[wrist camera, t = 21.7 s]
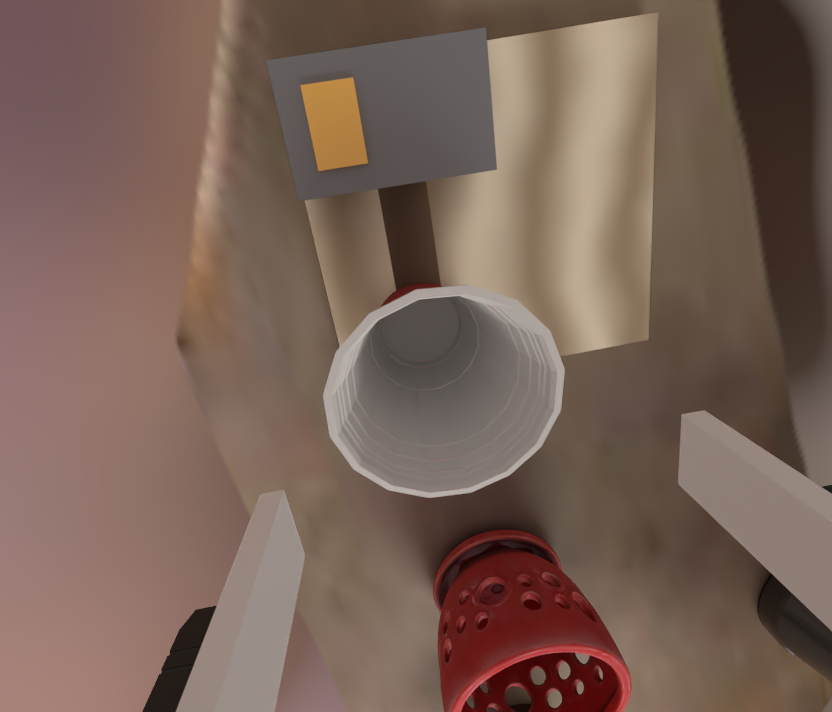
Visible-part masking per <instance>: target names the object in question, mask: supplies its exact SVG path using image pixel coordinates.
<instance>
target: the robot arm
mask: <svg viewBox="0 0 832 712" xmlns="http://www.w3.org/2000/svg"><path fill="white" fill-rule="evenodd" d="M678 484H679V485H680V486H681V487H682V488H683V489H684V490H685V491H686V492H687V493H688V494H689V495H690V496H691V497H692V498H693V499H694V500H695V501H696V502H697V503H698V504H699V505H700V506H701V507H703V508H704V509H705V510H706V511H707V512H708V513H709V514H710V515H711V516H712V517H713V518H714V519H715V520H716V521H717V522H718V523H719V524H720V525H721V526H722V527H723V528H724V529H726V530H727V531H728V532H729V533H730V534H731V535H732V536H733V537H734V538H735V539H736V540H737V541H738V542H739V543H740V544H741V545H742V546H743V547H744V548H745V549H746V550H747V551H748V552H750V553H751V554H752V555H753V556H754V557H755V558H756V559H757V560H758V561H759V562H760V563H761V564H762V565H763V566H764V567H765V568H766V569H767V570H768V571H769V572H770V573H771V574H773V575H772V577H771V578H770V579H769V581H768V582H767V584H766V586H765V588H764V590H763V592H762V595H761V598H760V603H759V615H760V619H761V622H762V624H763V625H764V627H765V628H766V629H767V630H768V632H769V633H770V634H771V635H772V636H773V637H774V638H775V639H776V640H777V642H778V643H779V644H780V645H781V646H782V647H783V648H784V649H785V650H787V651H788V652H789V653H791V654H792V655H794V656H796V657H797V658H799V659H801V660H803V661H804V662H805V663H807V664H808V665H809V666H811V667H812V668H813V669H815V670H816V671H818V672H819V673H820V674H822V675H823V676H824V677H826V678H827V679H829V680H830V681H831V682H832V485H829V486H824V487H821V486H819V485H817V484H816V483H815V482H813V481H812V480H810V479H809V478H807V477H805V476H804V475H802V474H801V473H799V472H798V471H796V470H795V469H793V468H792V467H790V466H789V465H787V464H786V463H784V462H783V461H781V460H780V459H778V458H777V457H775V456H773V455H772V454H770V453H769V452H767V451H766V450H764V449H763V448H761V447H760V446H758V445H757V444H755V443H754V442H752V441H751V440H749V439H748V438H746V437H744V436H743V435H741V434H740V433H738V432H737V431H735V430H734V429H732V428H731V427H729V426H728V425H726V424H725V423H723V422H722V421H720V420H719V419H717V418H716V417H714V416H712V415H711V414H709V413H708V412H706V411H705V410H703V411H697V412H692V413H687V414H682V417H681V435H680V454H679V473H678ZM304 559H305V554H304V550H303V547H302V544H301V541H300V538H299V535H298V532H297V529H296V526H295V523H294V520H293V516H292V513H291V510H290V507H289V504H288V501H287V498H286V495H285V492H284V490H279V491H274V492H269V493H264V494H260V496H259V498H258V501H257V503H256V506H255V509H254V511H253V514H252V516H251V519H250V521H249V524H248V527H247V529H246V532H245V534H244V537H243V540H242V542H241V545H240V547H239V550H238V552H237V555H236V558H235V561H234V563H233V565H232V568H231V571H230V573H229V576H228V578H227V581H226V583H225V586H224V589H223V591H222V594H221V596H220V599H219V601H218V604H217V606H213V607H208V608H203V609H198V610H195V612H194V613H193V614H192V615H191V616H190V618H189V619H188V620H187V622H186V623H185V624H184V625H183V626H182V628H181V629H180V630H179V632H178V634H177V636H176V639H175V641H174V643H173V645H172V647H171V650H170V655H169V656H167V659H166V661H165V663H164V665H163V667H162V673H161V674H159V676H158V679H157V681H156V683H155V685H154V687H153V690H152V692H151V694H150V696H149V698H148V701H147V703H146V705H145V707H144V709H143V712H275V707H276V701H277V697H278V692H279V686H280V681H281V676H282V671H283V666H284V661H285V656H286V651H287V645H288V640H289V636H290V631H291V625H292V620H293V615H294V610H295V605H296V600H297V595H298V590H299V585H300V580H301V575H302V569H303V564H304Z"/></svg>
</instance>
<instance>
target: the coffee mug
mask: <svg viewBox="0 0 832 712" xmlns="http://www.w3.org/2000/svg"><path fill="white" fill-rule="evenodd" d="M510 707H511V708H512V709H513V710H514V711H516V712H528V711H529V709H530V708H531V705H529V704H519V705H514V706H510Z"/></svg>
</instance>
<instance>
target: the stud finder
mask: <svg viewBox="0 0 832 712" xmlns="http://www.w3.org/2000/svg"><path fill="white" fill-rule="evenodd" d="M266 63H267V68H268V72H269V76H270V81H271V85H272V89H273V94H274V98H275V102H276V107H277V111H278V115H279V119H280V124H281V128H282V132H283V137H284V141H285V145H286V150H287V154H288V158H289V163H290V167H291V171H292V175H293V180H294V184H295V188H296V193H297V197H298V201H305V200H311V199H317V198H324V197H330V196H336V195H342V194H349V193H355V192H361V191H367V190H373V189H380V188H386V187H392V186H398V185H405V184H411V183H417V182H423V181H429V180H436V179H442V178H448V177H454V176H461V175H467V174H473V173H479V172H485V171H492V170H497V163H496V150H495V137H494V124H493V111H492V98H491V85H490V72H489V59H488V46H487V33H486V27H485V28H479V29H472V30H465V31H458V32H452V33H445V34H438V35H432V36H425V37H418V38H412V39H405V40H398V41H392V42H385V43H378V44H371V45H365V46H358V47H351V48H345V49H338V50H331V51H325V52H318V53H311V54H305V55H298V56H291V57H284V58H278V59H271V60H266Z"/></svg>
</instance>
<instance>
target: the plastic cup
mask: <svg viewBox="0 0 832 712" xmlns="http://www.w3.org/2000/svg"><path fill="white" fill-rule="evenodd" d="M564 374H565V369H564V366H563V363H562V361H561V358H560V355H559V353H558V350H557V347H556V345H555V342H554V339H553V337H552V334H551V331H550V330H549V329H548V328H547V327H546V326H545V325H544V324H543V323H542V322H540V321H539V320H538V319H537V318H536V317H535V316H534V315H533V314H532V313H531V312H530V311H529V310H527V309H526V308H525V307H524V306H523V305H522V304H521V303H520V302H519V301H518V300H516V299H512V298H509V297H506V296H503V295H500V294H497V293H494V292H491V291H487V290H484V289H481V288H478V287H475V286H472V285H457V286H446V287H443V286H440V285H437V284H434V283H432V284H429V283H421V284H409V285H407V286H405V287H403V288H401V289H399V290H397V291H395V292H393V293H392V294H391V295H390V296H389V297H388V298H387V299H386V300H385V301H384V303H383V304H382V305H381V306H380V307H379V308H378V309H376V310H374V311H372V312H370V313H369V314H368V315H367V316H366V318H365V319H364V320H363V321H362V322H361V323H360V325H359V326H358V327H357V328H356V329H355V330H354V331H353V333H352V334H351V335H350V336H349V337H348V338H347V340H346V341H345V342H344V343H343V344H342V345H341V347H340V348H339V349H338V350H337V351H336V353H335V356H334V360H333V363H332V366H331V370H330V373H329V377H328V380H327V383H326V387H325V390H324V393H323V399H324V405H325V411H326V417H327V423H328V429H329V434H330V438H331V439H332V440H333V442H334V443H335V445H336V446H337V447H338V449H339V450H340V451H341V453H342V454H343V456H344V457H345V458H346V460H347V461H348V463H349V464H350V465H351V467H352V468H353V469H354V470H355V471H357V472H359V473H360V474H362V475H364V476H365V477H367V478H369V479H370V480H372V481H374V482H375V483H377V484H379V485H380V486H382V487H384V488H385V489H387V490H389V491H395V492H400V493H405V494H410V495H416V496H421V497H426V498H433V497H441V496H449V495H457V494H465V493H472V492H474V491H476V490H478V489H480V488H483V487H485V486H487V485H489V484H491V483H494V482H496V481H498V480H500V479H502V478H505V477H507V476H509V475H511V474H512V473H513V472H514V471H515V470H516V469H517V468H518V467H520V466H521V465H522V464H523V463H524V462H525V461H526V460H527V459H528V458H530V457H531V456H532V455H533V454H534V453H535V452H536V451H537V450H538V449H539V448H541V447H542V445H543V443H544V441H545V439H546V437H547V435H548V434H549V432H550V430H551V428H552V426H553V424H554V422H555V421H556V419H557V417H558V415H559V413H560V411H561V405H562V395H563V384H564Z"/></svg>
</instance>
